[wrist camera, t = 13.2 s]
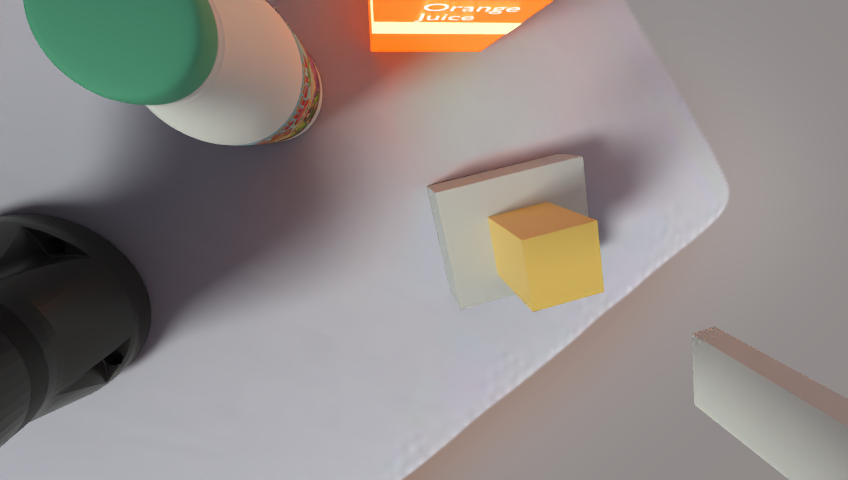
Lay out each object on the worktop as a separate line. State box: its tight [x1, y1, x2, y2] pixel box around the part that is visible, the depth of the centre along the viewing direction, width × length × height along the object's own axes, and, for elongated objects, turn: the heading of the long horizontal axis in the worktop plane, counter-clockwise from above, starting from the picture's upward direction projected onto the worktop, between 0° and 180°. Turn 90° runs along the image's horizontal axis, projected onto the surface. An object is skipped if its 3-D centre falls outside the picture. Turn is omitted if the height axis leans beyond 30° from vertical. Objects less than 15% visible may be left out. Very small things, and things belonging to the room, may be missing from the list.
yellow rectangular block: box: [488, 202, 604, 312], centre depth 28 cm, size 5×5×7 cm
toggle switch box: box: [427, 154, 589, 309], centre depth 31 cm, size 12×10×8 cm
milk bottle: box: [23, 0, 323, 146], centre depth 20 cm, size 8×8×20 cm
